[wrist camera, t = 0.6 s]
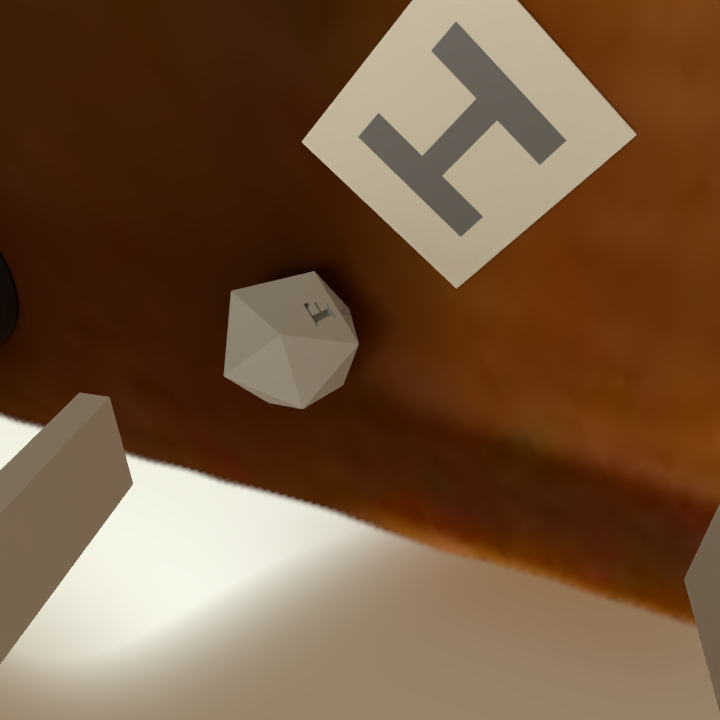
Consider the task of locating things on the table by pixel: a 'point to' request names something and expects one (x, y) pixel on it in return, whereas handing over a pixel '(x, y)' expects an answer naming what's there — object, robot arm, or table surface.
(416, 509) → the table surface
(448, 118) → the board
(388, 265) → the table surface
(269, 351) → the die
